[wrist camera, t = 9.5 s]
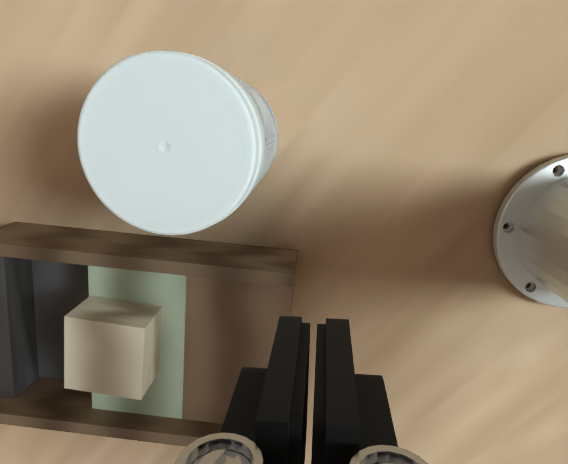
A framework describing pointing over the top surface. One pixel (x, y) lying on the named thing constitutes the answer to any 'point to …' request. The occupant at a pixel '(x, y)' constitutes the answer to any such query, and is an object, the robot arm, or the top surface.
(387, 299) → the top surface
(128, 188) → the supplement tub
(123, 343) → the birch block
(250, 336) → the lane deck
